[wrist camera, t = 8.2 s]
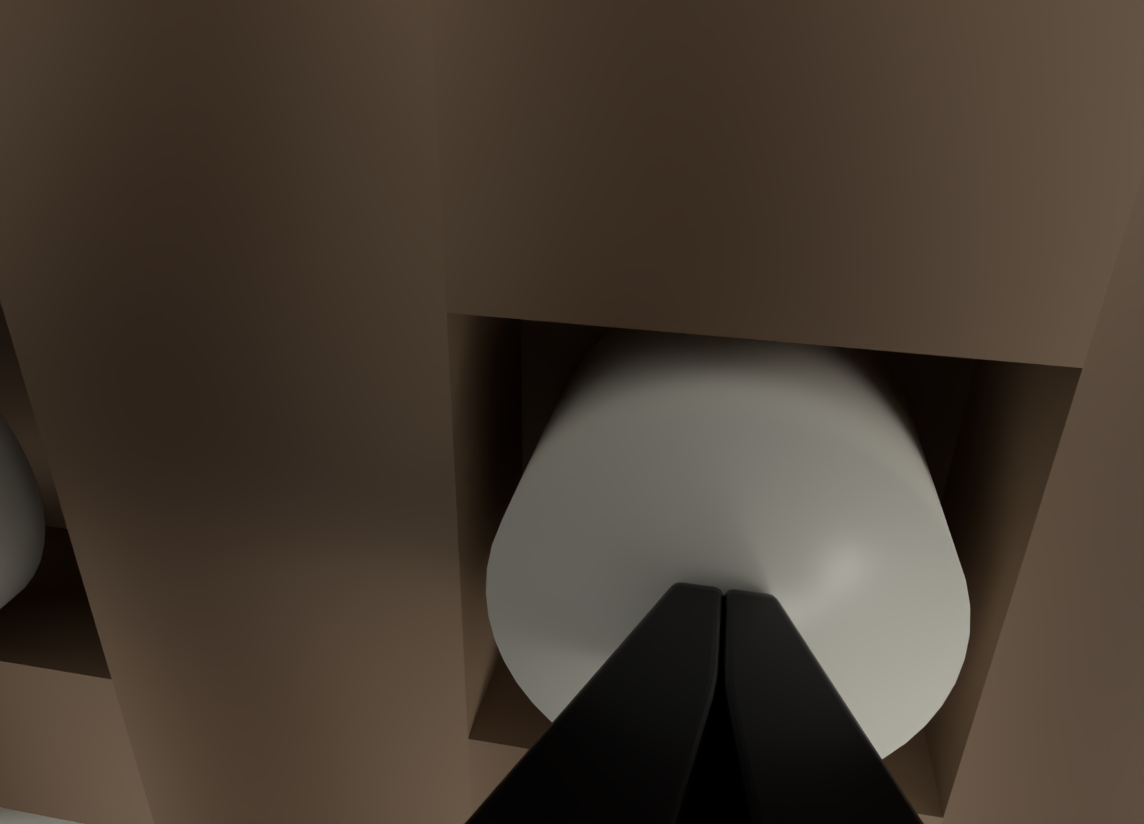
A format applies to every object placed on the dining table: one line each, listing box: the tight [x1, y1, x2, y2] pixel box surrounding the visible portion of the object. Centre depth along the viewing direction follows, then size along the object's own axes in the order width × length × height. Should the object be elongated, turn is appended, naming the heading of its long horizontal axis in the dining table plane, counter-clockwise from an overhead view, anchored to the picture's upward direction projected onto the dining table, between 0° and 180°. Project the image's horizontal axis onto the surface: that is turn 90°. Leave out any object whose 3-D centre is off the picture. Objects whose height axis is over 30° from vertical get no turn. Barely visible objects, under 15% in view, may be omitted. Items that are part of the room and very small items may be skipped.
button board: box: [0, 0, 1144, 824], centre depth 11 cm, size 22×16×3 cm
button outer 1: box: [486, 328, 970, 759], centre depth 9 cm, size 4×4×3 cm
